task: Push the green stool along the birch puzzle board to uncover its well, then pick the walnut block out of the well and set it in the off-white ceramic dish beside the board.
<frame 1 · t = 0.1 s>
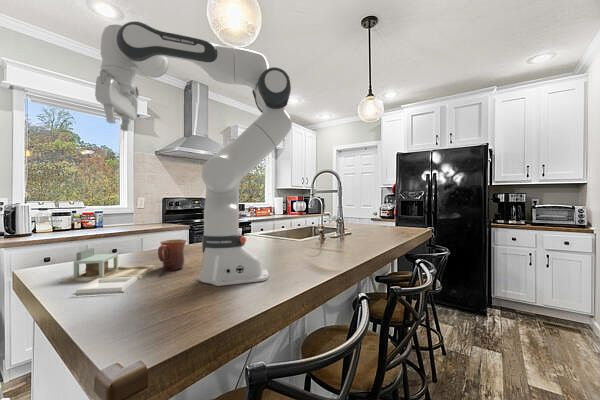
hand: (118, 126, 85), 48 cm above the counter, fingers open, 8 cm apart
green stool: (97, 262, 92), point 5 cm above the counter, slide at 0.0 cm
block: (97, 274, 92), point 1 cm above the counter, touching board
board: (112, 275, 93), on the counter
mug: (170, 270, 101), on the counter
dish: (109, 288, 80), on the counter
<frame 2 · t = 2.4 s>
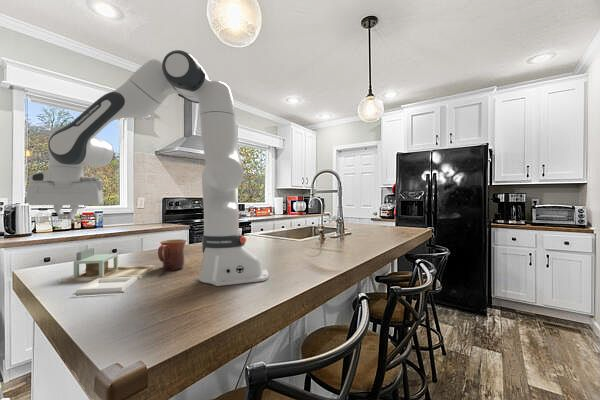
hand: (66, 219, 90), 19 cm above the counter, fingers closed
nothing on the counter moved.
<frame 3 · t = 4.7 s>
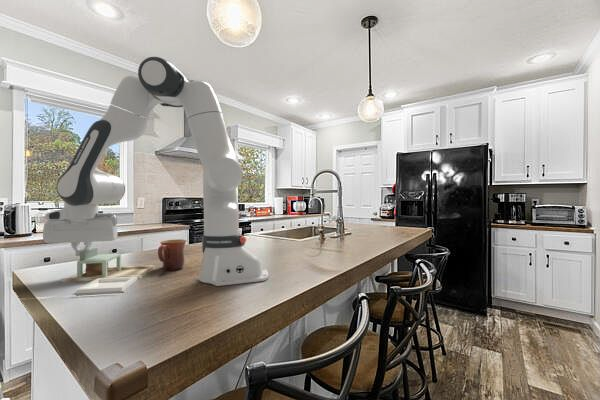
hand: (81, 255, 91), 7 cm above the counter, fingers closed
green stool: (100, 262, 92), point 5 cm above the counter, slide at 1.0 cm, touching gripper
everything else where it was.
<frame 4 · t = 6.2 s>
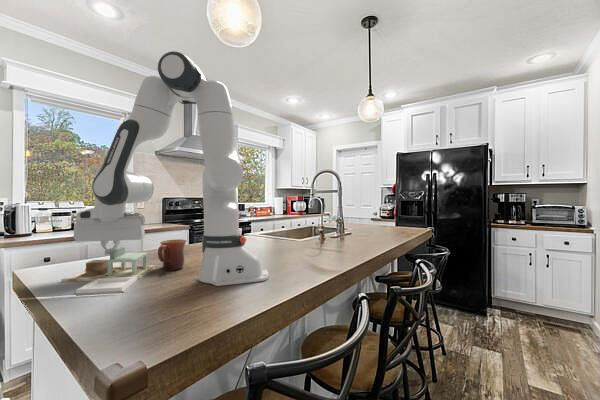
hand: (110, 254, 93), 7 cm above the counter, fingers closed
green stool: (128, 261, 94), point 5 cm above the counter, slide at 9.5 cm, touching gripper
everything else where it was.
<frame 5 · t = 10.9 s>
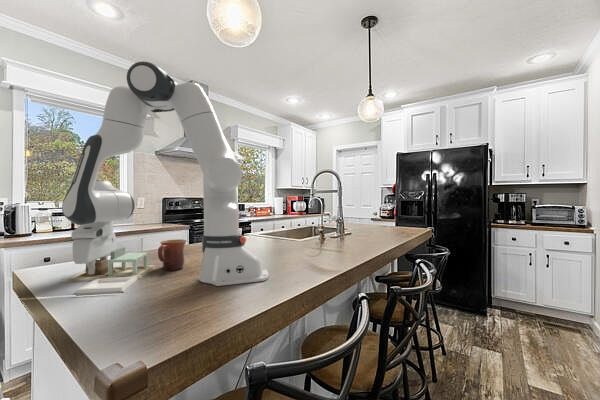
hand: (97, 271, 92), 2 cm above the counter, fingers closed on block, 4 cm apart
green stool: (129, 261, 94), point 5 cm above the counter, slide at 9.6 cm
block: (97, 274, 92), point 1 cm above the counter, touching board, gripper
everything else where it was.
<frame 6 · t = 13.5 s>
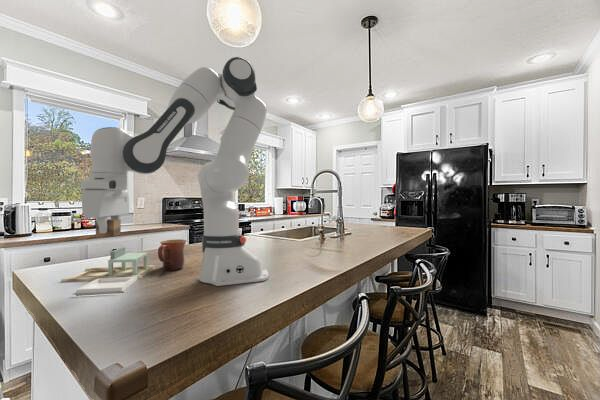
hand: (109, 231, 80), 16 cm above the counter, fingers closed on block, 4 cm apart
block: (108, 235, 80), point 15 cm above the counter, touching gripper
everything else where it was.
when the fingers open (3 cm above the counter, at t = 16.1 s): block drops 2 cm, resting on dish.
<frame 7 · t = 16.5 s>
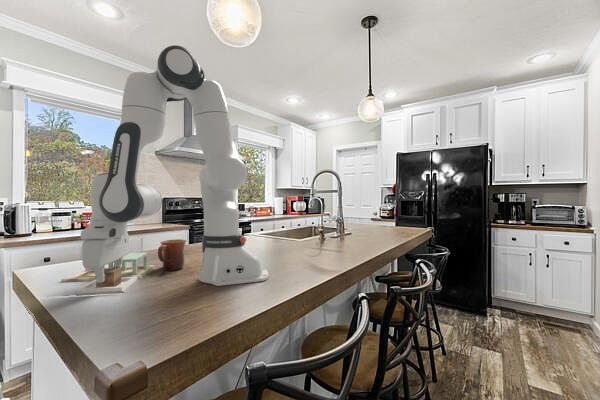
hand: (109, 277, 80), 3 cm above the counter, fingers open, 8 cm apart
block: (108, 286, 80), point 1 cm above the counter, touching dish
everything else where it was.
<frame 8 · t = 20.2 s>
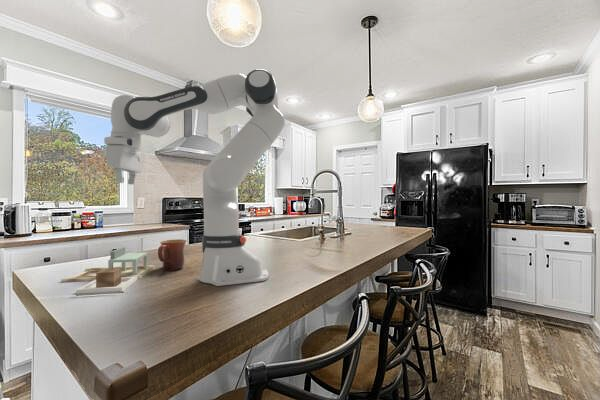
hand: (126, 183, 97), 31 cm above the counter, fingers open, 8 cm apart
nothing on the counter moved.
at the end: green stool slide at 9.6 cm; block inside the target area on the dish (0.1 cm from its centre), point 0.6 cm above the dish's base; the gripper is holding nothing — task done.
